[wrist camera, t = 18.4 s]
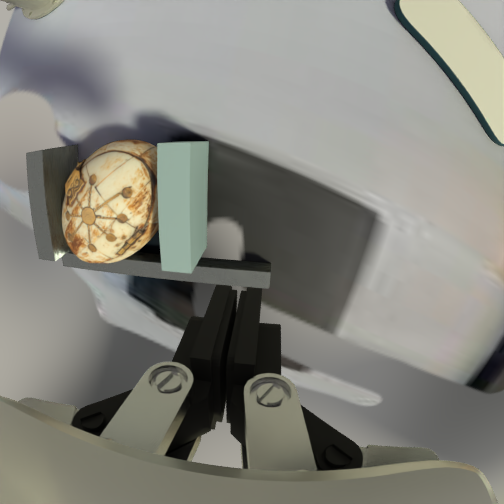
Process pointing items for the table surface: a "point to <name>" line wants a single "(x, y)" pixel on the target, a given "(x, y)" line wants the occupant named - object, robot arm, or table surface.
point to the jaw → (182, 203)
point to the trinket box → (112, 202)
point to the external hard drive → (461, 55)
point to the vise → (139, 264)
